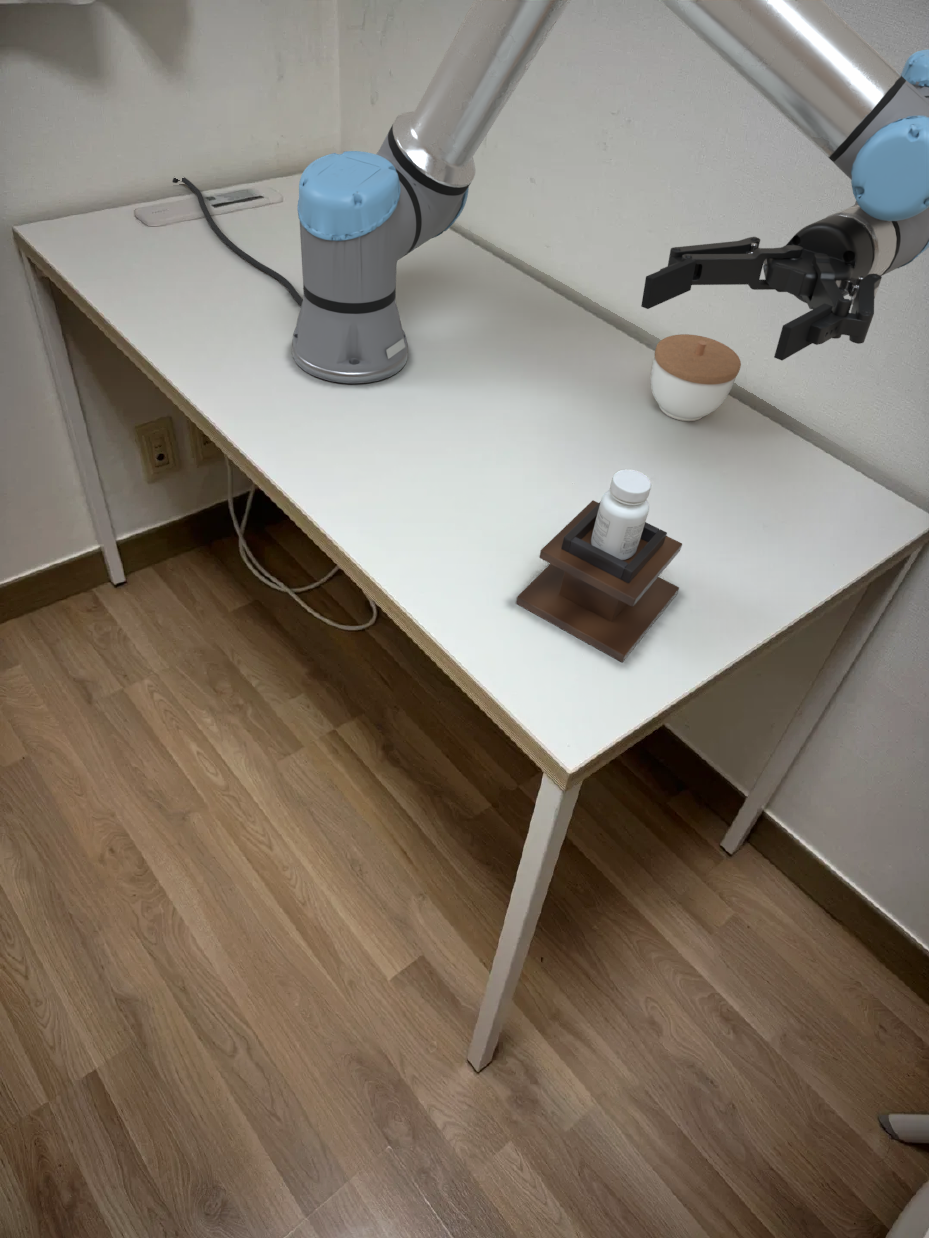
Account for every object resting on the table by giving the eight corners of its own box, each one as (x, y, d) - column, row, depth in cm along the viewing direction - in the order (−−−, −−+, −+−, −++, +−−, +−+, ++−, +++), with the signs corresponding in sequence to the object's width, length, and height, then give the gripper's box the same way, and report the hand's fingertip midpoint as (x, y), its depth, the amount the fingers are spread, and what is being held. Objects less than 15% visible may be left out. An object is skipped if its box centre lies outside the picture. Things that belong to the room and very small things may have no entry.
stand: (515, 603, 83) (527, 538, 77) (576, 543, 90) (592, 478, 84) (622, 662, 79) (644, 598, 72) (677, 594, 86) (701, 530, 80)
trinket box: (633, 385, 114) (650, 320, 107) (709, 388, 115) (730, 323, 108) (651, 430, 106) (671, 363, 100) (732, 433, 108) (757, 366, 101)
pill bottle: (640, 539, 80) (660, 473, 75) (631, 567, 77) (652, 501, 72) (595, 526, 81) (613, 460, 76) (585, 554, 78) (602, 487, 73)
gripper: (948, 334, 78) (832, 411, 67) (720, 260, 91) (593, 314, 80) (983, 251, 73) (864, 320, 62) (736, 185, 86) (602, 232, 75)
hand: (710, 317), depth 71 cm, fingers open, 13 cm apart
